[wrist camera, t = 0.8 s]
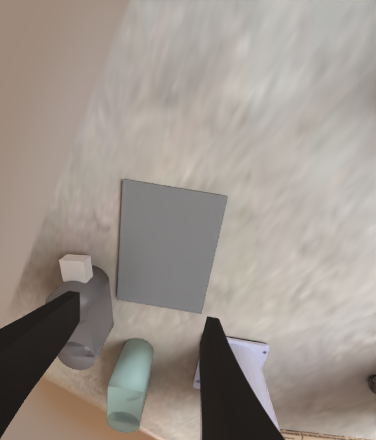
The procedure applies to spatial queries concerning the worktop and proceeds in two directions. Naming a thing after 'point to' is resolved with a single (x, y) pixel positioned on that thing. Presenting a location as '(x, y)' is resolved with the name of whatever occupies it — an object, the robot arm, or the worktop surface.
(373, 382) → the coffee press
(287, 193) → the worktop surface
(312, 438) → the wooden plank
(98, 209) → the worktop surface
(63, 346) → the robot arm
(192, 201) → the mat
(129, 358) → the teal plug
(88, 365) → the plug
